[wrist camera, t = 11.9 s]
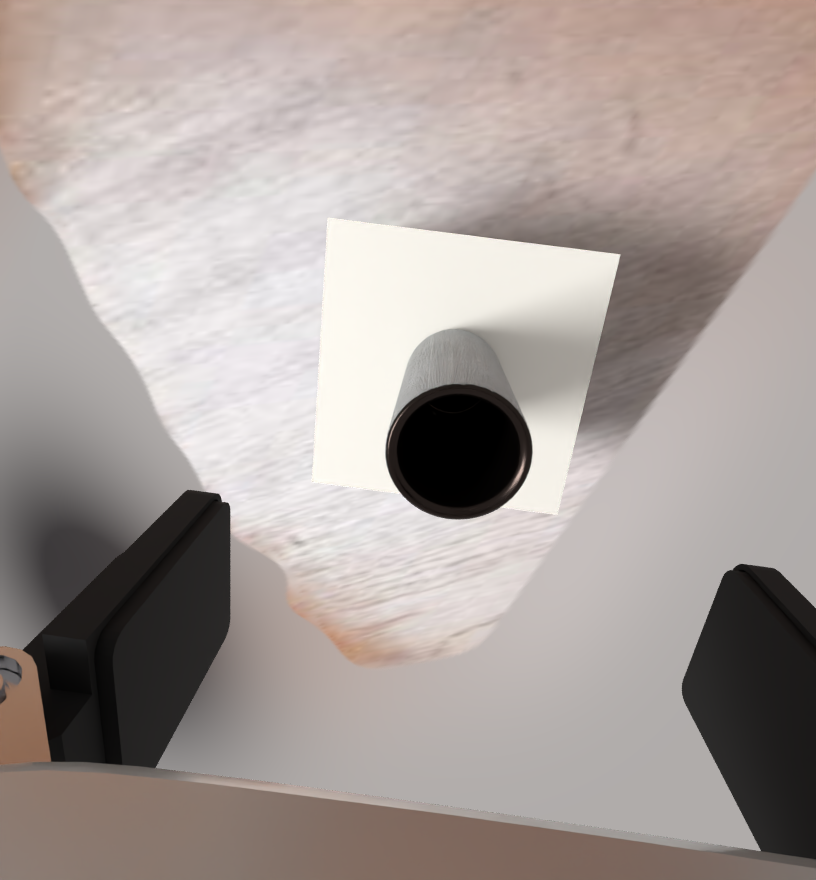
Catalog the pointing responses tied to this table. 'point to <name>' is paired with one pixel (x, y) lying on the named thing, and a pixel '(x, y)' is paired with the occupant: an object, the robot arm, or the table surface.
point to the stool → (453, 307)
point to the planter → (457, 430)
